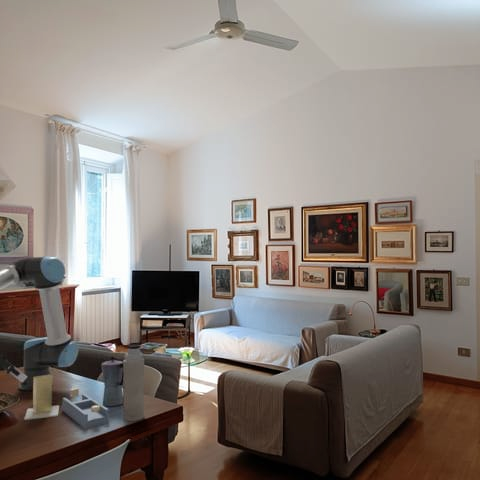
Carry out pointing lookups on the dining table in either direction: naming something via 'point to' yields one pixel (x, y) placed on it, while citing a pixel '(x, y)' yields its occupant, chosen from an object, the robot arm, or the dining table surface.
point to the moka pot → (112, 382)
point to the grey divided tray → (85, 410)
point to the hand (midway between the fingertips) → (20, 375)
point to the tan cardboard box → (42, 394)
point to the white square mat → (48, 414)
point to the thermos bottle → (133, 384)
